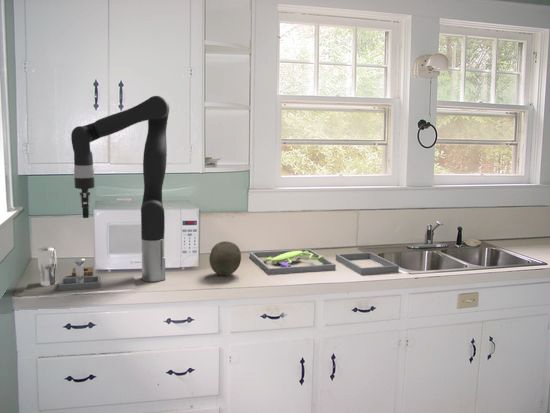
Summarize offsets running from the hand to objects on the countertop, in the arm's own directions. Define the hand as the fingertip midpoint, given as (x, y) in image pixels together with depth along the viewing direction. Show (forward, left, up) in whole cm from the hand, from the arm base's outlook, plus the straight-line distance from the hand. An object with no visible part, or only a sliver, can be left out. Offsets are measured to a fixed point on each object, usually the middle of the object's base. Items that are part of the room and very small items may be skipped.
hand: (85, 216), depth 213 cm
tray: (+2, +11, -27) cm, 29 cm away
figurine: (-93, -6, -27) cm, 97 cm away
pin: (+3, +12, -26) cm, 29 cm away
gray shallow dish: (-124, +8, -27) cm, 127 cm away
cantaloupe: (-56, +9, -27) cm, 63 cm away
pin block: (+2, 0, -27) cm, 27 cm away
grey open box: (-91, -5, -27) cm, 95 cm away
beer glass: (+15, +6, -27) cm, 31 cm away
